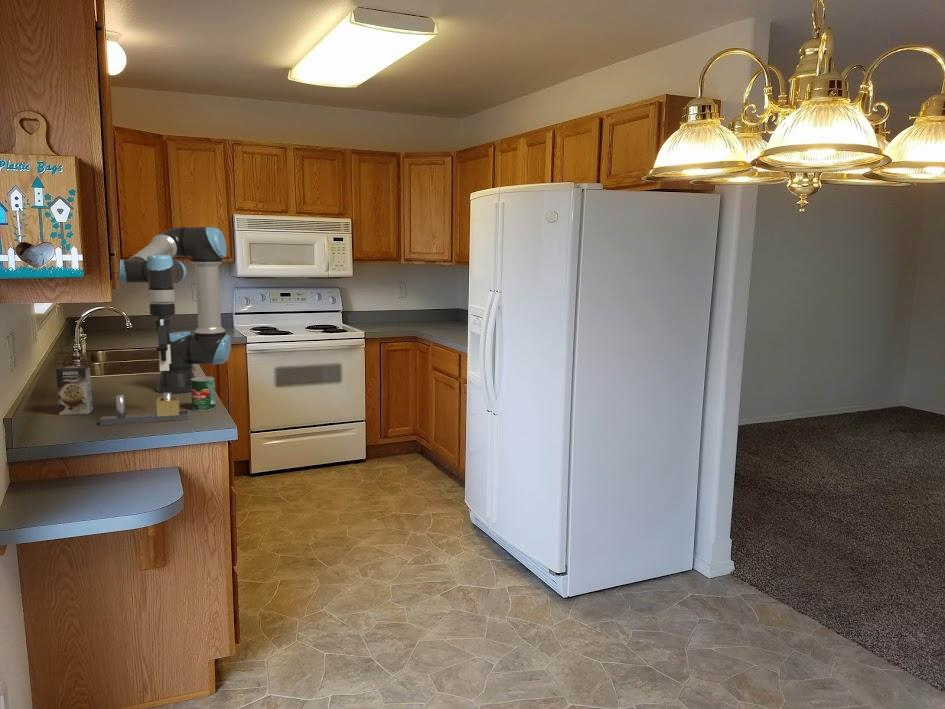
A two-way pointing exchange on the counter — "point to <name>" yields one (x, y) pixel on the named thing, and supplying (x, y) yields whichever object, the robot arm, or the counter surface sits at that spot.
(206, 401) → the canned tomato
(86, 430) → the counter surface
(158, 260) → the robot arm
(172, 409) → the collar
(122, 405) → the grey peg stand
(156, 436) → the counter surface
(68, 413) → the cookie box
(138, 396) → the counter surface
